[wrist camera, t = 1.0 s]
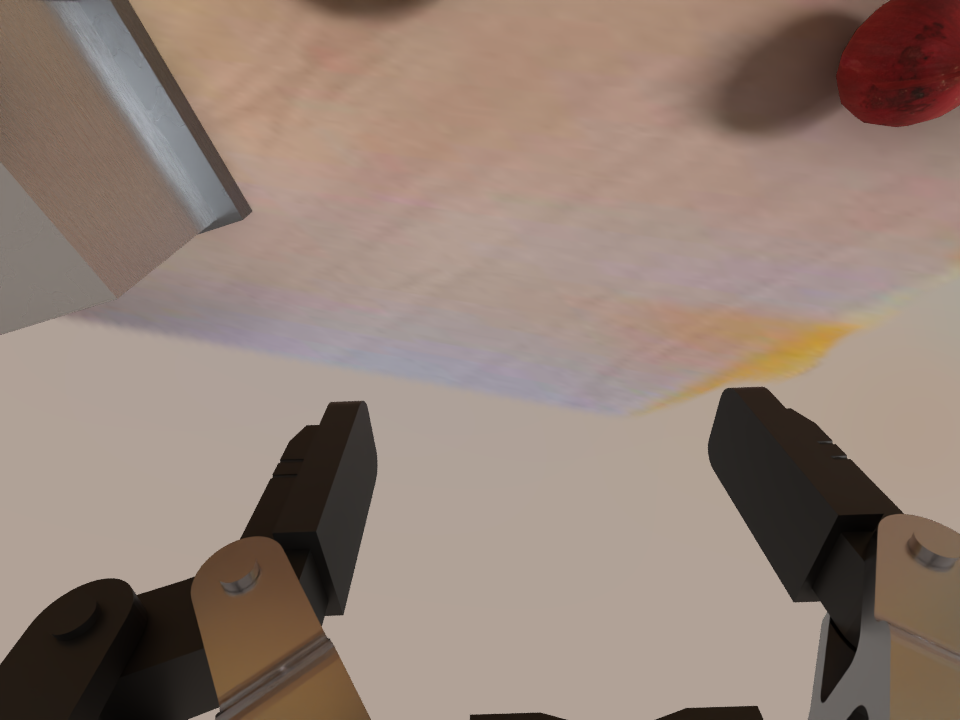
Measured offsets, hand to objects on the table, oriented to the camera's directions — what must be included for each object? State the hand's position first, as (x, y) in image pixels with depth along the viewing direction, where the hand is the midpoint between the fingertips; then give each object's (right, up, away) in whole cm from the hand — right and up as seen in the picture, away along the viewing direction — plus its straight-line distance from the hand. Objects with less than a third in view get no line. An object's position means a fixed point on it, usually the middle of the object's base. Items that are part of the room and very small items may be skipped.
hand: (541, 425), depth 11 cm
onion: (+19, +18, +15) cm, 30 cm away
